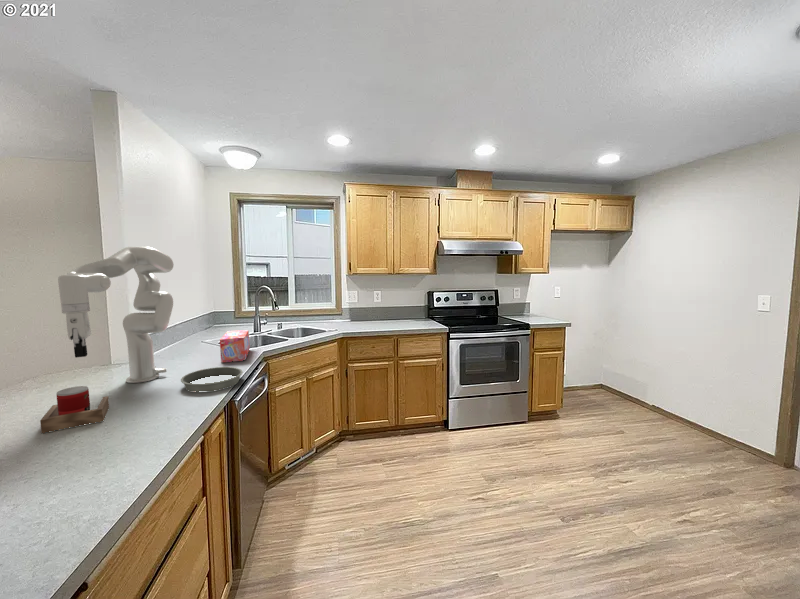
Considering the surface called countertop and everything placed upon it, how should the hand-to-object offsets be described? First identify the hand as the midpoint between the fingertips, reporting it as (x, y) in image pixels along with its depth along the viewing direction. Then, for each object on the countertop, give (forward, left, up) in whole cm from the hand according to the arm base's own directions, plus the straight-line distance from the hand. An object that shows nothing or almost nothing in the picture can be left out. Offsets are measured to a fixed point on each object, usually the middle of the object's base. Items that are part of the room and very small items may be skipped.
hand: (81, 356), depth 127 cm
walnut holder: (0, +12, -20) cm, 23 cm away
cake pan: (-43, -2, -20) cm, 47 cm away
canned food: (+1, +13, -20) cm, 24 cm away
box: (-59, -47, -20) cm, 78 cm away
